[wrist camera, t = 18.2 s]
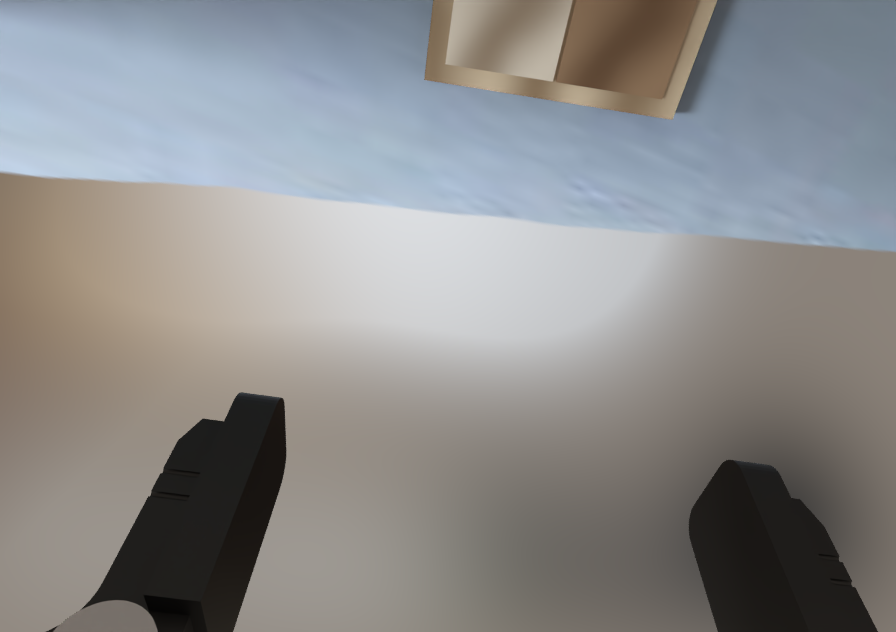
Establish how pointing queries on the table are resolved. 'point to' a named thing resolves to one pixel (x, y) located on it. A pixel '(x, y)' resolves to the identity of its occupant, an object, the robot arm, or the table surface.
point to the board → (571, 49)
